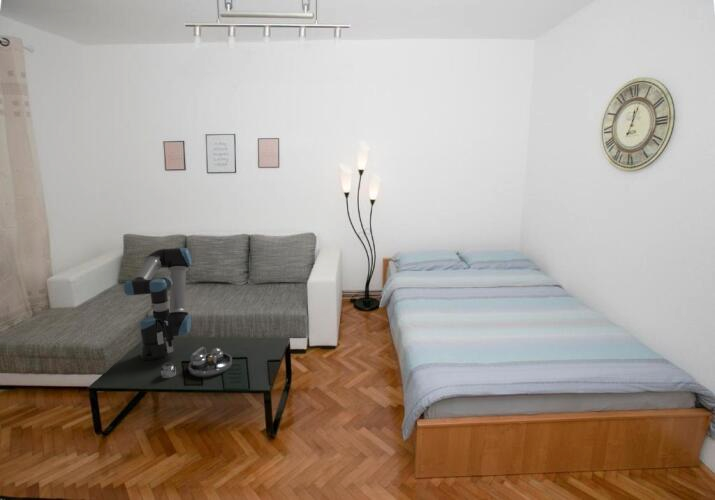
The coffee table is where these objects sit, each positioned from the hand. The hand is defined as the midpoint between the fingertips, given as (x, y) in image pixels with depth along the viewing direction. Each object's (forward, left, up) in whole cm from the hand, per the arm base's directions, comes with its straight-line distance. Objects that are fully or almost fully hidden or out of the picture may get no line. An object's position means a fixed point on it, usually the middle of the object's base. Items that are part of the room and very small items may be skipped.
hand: (165, 347), depth 206 cm
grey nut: (0, 0, -16) cm, 16 cm away
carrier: (+8, +20, -16) cm, 26 cm away
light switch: (0, +16, -16) cm, 23 cm away
